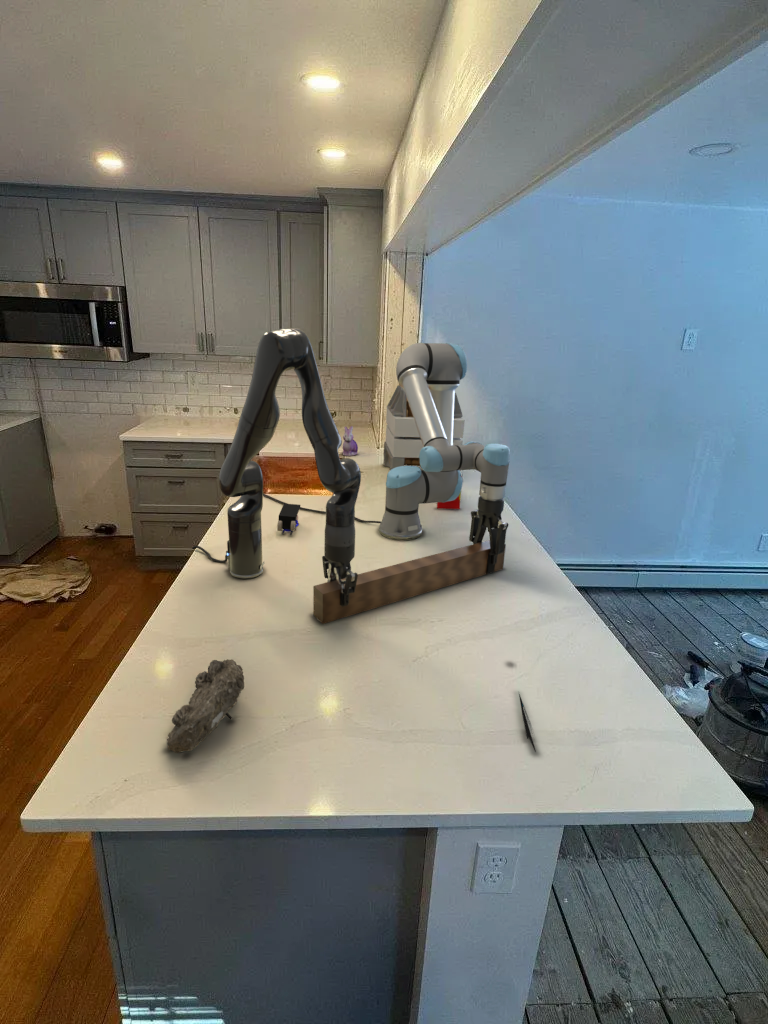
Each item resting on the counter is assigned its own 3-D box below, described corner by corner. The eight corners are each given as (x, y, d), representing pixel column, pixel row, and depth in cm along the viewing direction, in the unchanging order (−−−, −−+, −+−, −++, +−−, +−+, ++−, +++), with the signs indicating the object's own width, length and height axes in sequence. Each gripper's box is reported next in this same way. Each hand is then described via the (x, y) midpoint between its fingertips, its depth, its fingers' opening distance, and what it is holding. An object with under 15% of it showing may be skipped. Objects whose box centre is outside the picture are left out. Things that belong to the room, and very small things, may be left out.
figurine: (345, 456, 298) (346, 428, 293) (338, 452, 306) (338, 424, 301) (361, 455, 302) (362, 427, 297) (353, 451, 310) (354, 424, 305)
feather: (511, 668, 129) (516, 662, 128) (535, 756, 102) (542, 749, 102) (505, 664, 129) (510, 658, 128) (527, 751, 102) (534, 744, 101)
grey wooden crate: (382, 463, 289) (386, 382, 275) (445, 464, 293) (451, 384, 279) (390, 482, 257) (394, 392, 243) (460, 483, 261) (468, 394, 247)
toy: (454, 466, 251) (466, 476, 222) (452, 496, 254) (463, 510, 225) (427, 466, 251) (435, 475, 222) (425, 495, 254) (433, 509, 224)
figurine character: (296, 541, 193) (301, 521, 206) (295, 521, 189) (301, 502, 203) (276, 540, 193) (283, 520, 206) (275, 520, 189) (282, 501, 203)
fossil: (192, 660, 117) (244, 628, 112) (224, 691, 120) (276, 661, 115) (142, 746, 98) (202, 712, 93) (182, 779, 101) (242, 748, 96)
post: (491, 563, 180) (494, 538, 177) (502, 569, 176) (505, 544, 173) (313, 615, 145) (313, 585, 142) (322, 624, 141) (322, 594, 138)
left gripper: (312, 532, 143) (312, 592, 149) (341, 552, 132) (340, 616, 138) (338, 527, 147) (337, 586, 153) (368, 546, 136) (366, 609, 142)
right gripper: (461, 490, 171) (454, 560, 179) (505, 508, 158) (495, 583, 166) (479, 487, 176) (472, 555, 183) (523, 504, 162) (513, 577, 170)
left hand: (338, 600), depth 145 cm, fingers closed on post, 5 cm apart
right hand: (483, 568), depth 174 cm, fingers closed on post, 5 cm apart
